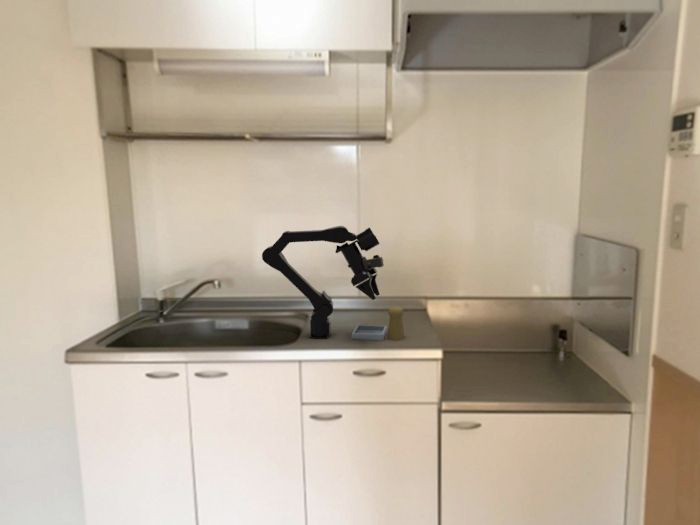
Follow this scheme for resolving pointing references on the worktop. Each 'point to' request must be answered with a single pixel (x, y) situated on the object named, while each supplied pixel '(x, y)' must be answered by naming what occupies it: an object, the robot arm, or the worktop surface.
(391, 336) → the cork
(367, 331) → the tray
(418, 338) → the worktop surface
